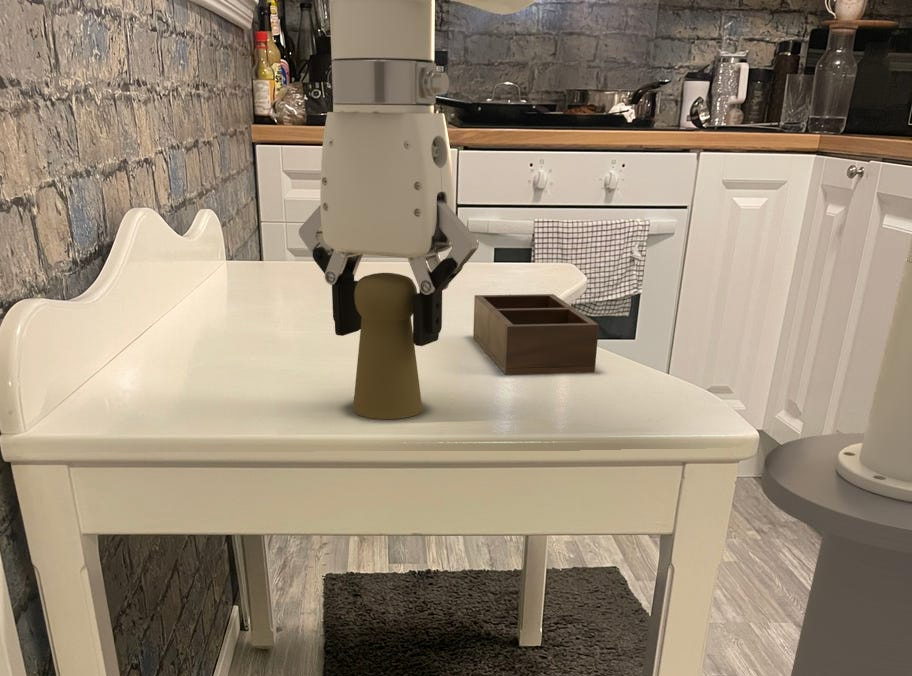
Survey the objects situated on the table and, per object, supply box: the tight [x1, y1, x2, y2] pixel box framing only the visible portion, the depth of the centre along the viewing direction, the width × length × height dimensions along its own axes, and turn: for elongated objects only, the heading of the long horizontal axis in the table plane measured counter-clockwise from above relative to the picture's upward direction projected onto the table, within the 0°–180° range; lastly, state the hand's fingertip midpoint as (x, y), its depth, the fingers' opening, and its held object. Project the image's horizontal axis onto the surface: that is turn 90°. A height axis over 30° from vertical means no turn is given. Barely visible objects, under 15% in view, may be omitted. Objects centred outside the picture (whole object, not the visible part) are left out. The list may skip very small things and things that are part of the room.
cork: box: [352, 272, 423, 420], centre depth 79 cm, size 6×6×11 cm
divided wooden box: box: [472, 293, 600, 376], centre depth 100 cm, size 17×9×5 cm, turn 8°
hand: (386, 336), depth 79 cm, fingers open, 6 cm apart
